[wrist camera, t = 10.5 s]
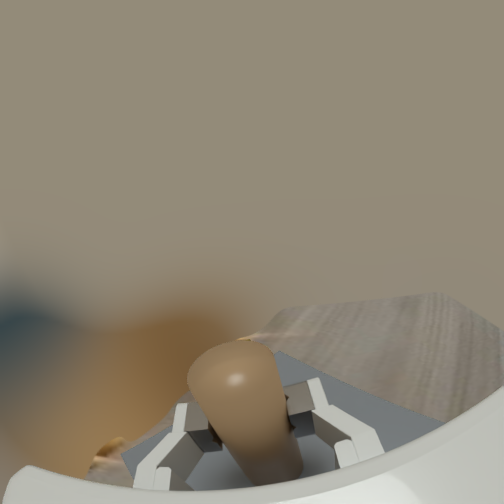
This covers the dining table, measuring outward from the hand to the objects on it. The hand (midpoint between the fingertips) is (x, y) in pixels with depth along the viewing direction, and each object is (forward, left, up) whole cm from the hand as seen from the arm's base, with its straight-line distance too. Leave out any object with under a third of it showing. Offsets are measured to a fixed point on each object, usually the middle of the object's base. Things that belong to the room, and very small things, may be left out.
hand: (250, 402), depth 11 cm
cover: (0, +1, -14) cm, 14 cm away
